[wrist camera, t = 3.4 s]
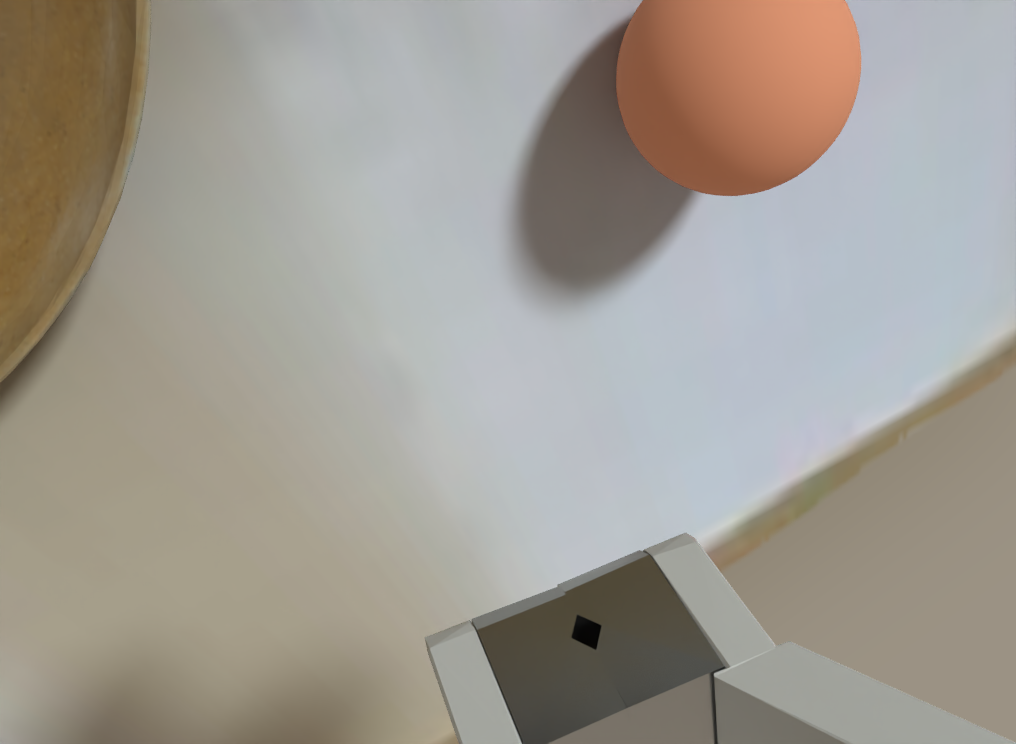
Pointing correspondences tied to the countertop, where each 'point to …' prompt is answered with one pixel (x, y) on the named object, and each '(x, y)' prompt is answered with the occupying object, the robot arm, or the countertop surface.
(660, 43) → the ball
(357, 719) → the countertop surface
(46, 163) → the plant saucer
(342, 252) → the countertop surface
